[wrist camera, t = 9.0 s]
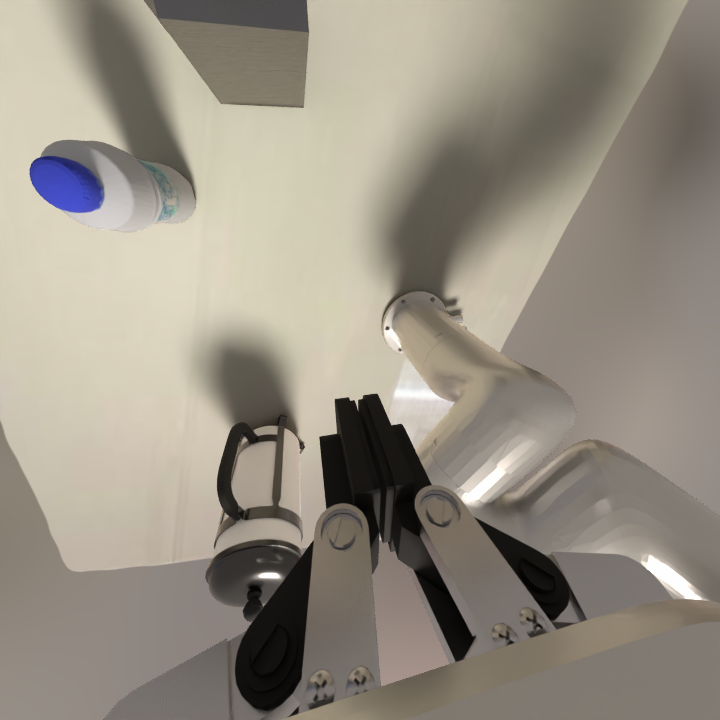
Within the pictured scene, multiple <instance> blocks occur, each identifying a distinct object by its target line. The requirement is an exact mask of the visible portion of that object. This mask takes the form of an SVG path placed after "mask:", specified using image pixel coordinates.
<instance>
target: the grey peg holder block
mask: <svg viewBox="0 0 720 720" xmlns="http://www.w3.org/2000/svg"><path fill="white" fill-rule="evenodd" d="M144 1H145V2H146V4H147V5H148V6H149V8H150V9H151V10H152V12H153V13H154V15H155V16H156V17H157V19H158V20H159V21H160V23H161V24H162V25H163V27H164V28H165V29H166V31H167V32H168V33H169V34H170V35H171V37H172V38H173V39H174V41H175V42H176V43H177V45H178V46H179V48H180V49H181V50H182V52H183V53H184V54H185V56H186V57H187V58H188V60H189V61H190V62H191V64H192V65H193V66H194V68H195V69H196V71H197V72H198V73H199V75H200V76H201V77H202V79H203V80H204V81H205V83H206V84H207V85H208V87H209V88H210V90H211V91H212V92H213V94H214V95H215V96H216V98H217V99H218V100H219V102H220V103H221V104H236V105H256V106H277V107H298V108H304V94H305V80H306V66H307V51H308V37H309V28H308V14H307V0H144Z"/></svg>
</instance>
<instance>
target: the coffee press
mask: <svg viewBox="0 0 720 720" xmlns="http://www.w3.org/2000/svg"><path fill="white" fill-rule="evenodd" d="M286 420H287V416H283V415H280V416H279V419H278V422H277V425H276V426H264V427H260V428H257V429H255V430H252V429H251V428H250V426H249V425H247V424H246V423H243V422H242V423H239V424H236V425H234V426H233V427H232V428H231V430H230V433H229V436H228V439H227V442H226V445H225V449H224V452H223V456H222V459H221V463H220V467H219V471H218V477H217V492H218V497H219V501H220V504H221V506H222V508H223V510H222V514H221V518H220V523H219V527H218V531H217V535H216V539H215V544H214V549H215V551H214V555H213V558H212V560H211V561H210V563H209V564H208V567H207V571H206V581H207V583H208V584H209V590H210V592H211V594H212V596H213V597H214V598H215V599H216V600H217V601H219V602H221V603H223V604H225V605H228V606H233V607H244V609H243V614H244V618H245V619H246V620H247V621H249V622H252V621H254V619H255V618H256V617H257V615H258V614H259V613H260V611H261V610H262V609H263V606H262V604H266V603H267V602H268V601H269V599H270V598H271V597H272V595H273V594H274V593H275V591H276V590H277V589H278V587H279V586H280V585H281V583H282V582H283V580H284V579H285V578H286V576H287V575H288V574H289V572H290V571H291V570H292V568H293V567H294V566H295V564H296V563H297V562H298V560H299V559H300V558H301V556H302V555H303V552H302V550H301V541H302V537H303V535H302V521H301V500H300V454H301V453H302V451H303V450H304V448H305V446H304V445H303V444H299V441H298V439H297V437H296V436H295V435H294V434H293V433H292V432H291V431H289V430H288V429H286V428H285V424H286ZM241 437H242V438H243V440H242V441H241V440H240V438H241ZM240 442H241V443H240ZM300 449H301V451H300Z"/></svg>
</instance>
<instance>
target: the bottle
mask: <svg viewBox="0 0 720 720" xmlns="http://www.w3.org/2000/svg"><path fill="white" fill-rule="evenodd" d="M30 178H31V181H32V184H33V186H34V187H35V189H36V191H37V192H38V193H39V194H40V196H42V197H43V198H44V199H45V200H46V201H48V202H49V203H50V204H52V205H54V206H55V207H57V208H59V209H61V210H62V211H63V212H64V213H66V214H67V215H68V216H69V217H71V218H72V219H74V220H76V221H77V222H79V223H81V224H83V225H86V226H88V227H91V228H95V229H100V230H110V231H117V232H124V233H130V232H136V231H139V230H143V229H146V228H148V227H150V226H151V225H153V224H161V223H164V224H176V223H181V222H184V221H186V220H188V219H189V217H190V216H191V215H192V213H193V211H194V210H195V208H196V201H195V198H194V194H193V190H192V186H191V185H190V183H189V182H188V181H187V180H186V179H185V178H184V177H183V176H182V175H181V174H180V173H178V172H177V171H176V170H174V169H173V168H171V167H169V166H166V165H163V164H159V163H154V162H147V161H143V160H140V159H137V158H134V157H133V156H131V155H130V154H128V153H127V152H125V151H123V150H121V149H118V148H116V147H114V146H111V145H109V144H106V143H102V142H98V141H78V140H61V141H57V142H54V143H52V144H50V145H49V146H47V147H46V148H45V150H44V151H43V152H42V154H41V157H40V158H37V159H36V160H34V161H33V163H32V164H31V167H30Z"/></svg>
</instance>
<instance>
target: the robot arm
mask: <svg viewBox="0 0 720 720" xmlns="http://www.w3.org/2000/svg"><path fill="white" fill-rule="evenodd" d="M402 300H403V301H402ZM401 301H402V302H401ZM462 321H463V317H462V315H458V316H451V315H449V314H448V313H447V312H446V309H445V306H444V304H443V303H442V301H441V300H440V299H439V298H437V297H436V296H435V295H433V294H431V293H429V292H425V291H413V292H409V293H406V294H404V295H402V296H400V297H399V298H398V299H396V300H395V301H394V302H393V303H392V304H391V305H390V307H389V308H388V309H387V311H386V313H385V315H384V318H383V322H382V334H383V337H384V339H385V341H386V343H387V344H388V346H389V347H390V348H391V349H392V350H394V351H395V352H397V353H400V354H403V355H406V356H407V358H408V359H409V361H410V362H411V363H412V365H413V366H414V367H415V369H416V370H417V371H418V373H419V374H420V376H421V377H422V378H423V380H424V381H425V382H426V384H427V385H428V386H429V388H430V389H431V390H432V391H433V392H434V393H435V394H436V395H438V396H439V397H441V398H443V399H445V400H448V401H452V402H455V404H454V405H453V406H452V407H451V408H450V409H449V411H448V412H447V414H446V415H445V416H444V417H443V418H442V419H441V420H440V421H439V423H438V424H437V425H436V426H435V427H434V428H433V429H432V430H431V432H430V433H429V434H428V435H427V436H426V438H425V439H424V440H423V441H422V442H421V444H420V445H419V447H418V448H417V450H416V451H415V449H414V447H413V445H412V443H411V441H410V439H409V436H408V434H407V432H406V430H405V428H404V427H403V425H402V424H397V425H391V424H390V421H389V419H388V417H387V414H386V412H385V410H384V407H383V405H382V403H381V400H380V398H379V396H378V394H370V395H364V396H363V399H361V400H358V409H357V406H356V403H355V400H353V401H350V399H349V397H348V398H340V399H335V411H336V424H337V434H333V435H327V436H321V437H319V438H320V449H321V459H322V469H323V479H324V489H325V499H326V510H325V511H324V512H323V513H322V514H321V516H320V517H319V519H318V521H317V523H316V527H315V533H314V540H313V542H312V543H311V544H310V546H309V547H308V548H307V550H306V551H305V553H304V554H303V555H302V556H301V558H300V559H299V560H298V562H297V563H296V564H295V566H294V567H293V568H292V570H291V571H290V572H289V574H288V575H287V576H286V578H285V579H284V580H283V582H282V583H281V585H280V586H279V587H278V589H277V590H276V591H275V593H274V594H273V595H272V597H271V598H270V599H269V601H268V602H267V603H266V605H265V606H264V607H263V609H262V610H261V611H260V613H259V614H258V615H257V617H256V618H255V619H254V621H253V622H252V623H251V625H250V626H249V628H248V629H247V631H245V632H244V633H242V634H240V635H238V636H237V637H235V638H233V639H231V640H229V641H228V639H225V640H223V641H221V642H219V643H218V644H216V645H214V646H212V647H210V648H209V649H207V650H205V651H203V652H201V653H200V654H198V655H196V656H194V657H193V658H191V659H189V660H187V661H185V662H184V663H182V664H180V665H178V666H176V667H175V668H173V669H171V670H169V671H167V672H166V673H164V674H162V675H160V676H158V677H157V678H155V679H153V680H151V681H149V682H148V683H146V684H144V685H142V686H140V687H139V688H137V689H135V690H133V691H132V692H131V693H129V694H128V695H127V696H125V697H124V698H123V699H121V700H120V701H119V702H118V703H117V704H116V705H115V706H114V707H113V708H112V710H111V711H110V712H109V713H108V714H107V716H106V717H105V718H104V719H103V720H720V515H718V514H717V513H716V512H714V511H713V510H711V509H710V508H708V507H707V506H706V505H704V504H703V503H701V502H700V501H698V500H697V499H695V498H694V497H693V496H691V495H690V494H688V493H687V492H686V491H684V490H683V489H681V488H680V487H678V486H677V485H675V484H674V483H672V482H671V481H670V480H668V479H667V478H665V477H664V476H662V475H661V474H659V473H658V472H657V471H655V470H653V469H652V468H651V467H649V466H648V465H646V464H645V463H643V462H642V461H640V460H639V459H637V458H635V457H634V456H632V455H631V454H629V453H627V452H625V451H624V450H622V449H620V448H619V447H617V446H614V445H612V444H610V443H607V442H604V441H600V440H589V439H588V440H583V441H580V442H578V443H576V444H574V445H572V446H570V447H569V448H567V449H566V450H564V451H563V452H562V453H560V454H559V455H558V456H556V457H555V458H554V459H553V460H552V461H550V462H549V463H548V464H547V465H546V466H544V467H543V468H542V469H541V470H540V471H539V472H537V473H536V474H535V475H534V476H533V477H532V478H531V479H529V480H528V481H527V482H526V483H525V484H523V485H522V486H521V487H520V488H519V489H518V490H516V491H514V492H510V491H508V490H509V489H510V488H512V487H513V486H514V485H515V484H516V483H517V482H518V481H519V480H521V479H522V478H523V477H525V476H526V475H527V474H528V473H529V472H531V471H532V470H533V469H534V468H535V467H536V466H537V465H539V464H540V463H541V462H542V461H543V460H544V459H545V458H547V457H548V456H549V455H550V454H551V453H552V452H553V451H555V450H556V449H557V447H558V446H559V445H560V444H561V443H562V442H563V441H564V440H565V438H566V437H567V436H568V435H569V433H570V431H571V430H572V428H573V425H574V423H575V420H576V407H575V404H574V402H573V399H572V398H571V396H570V395H569V394H568V393H567V391H566V390H565V389H564V388H563V387H561V386H560V385H559V384H557V383H556V382H555V381H553V380H552V379H550V378H548V377H547V376H545V375H543V374H541V373H539V372H537V371H535V370H533V369H531V368H529V367H527V366H524V365H523V364H520V363H518V362H516V361H514V360H512V359H510V358H508V357H506V356H505V355H503V354H501V353H499V352H498V351H496V350H495V349H493V348H492V347H490V346H489V345H487V344H486V343H484V342H483V341H482V340H480V339H479V338H477V337H476V336H475V335H473V334H472V333H471V332H469V331H468V330H467V328H466V326H461V325H459V324H458V323H462ZM386 326H387V327H386ZM385 327H386V328H385ZM379 532H380V536H381V539H382V542H383V543H385V542H388V544H389V547H390V551H391V552H393V551H396V554H397V557H398V559H399V560H400V561H402V562H403V563H405V564H406V565H407V567H408V571H409V573H410V575H411V578H412V580H413V582H414V584H415V586H416V589H417V591H418V594H419V596H420V598H421V600H422V603H423V604H424V607H425V609H426V612H427V614H428V616H429V618H430V621H431V623H432V625H433V627H434V630H435V632H436V634H437V636H438V638H439V641H440V643H441V645H442V647H443V650H444V652H445V654H446V657H447V659H448V661H449V663H450V664H449V665H446V666H443V667H440V668H437V669H434V670H430V671H427V672H424V673H421V674H419V675H415V676H412V677H409V678H406V679H403V680H400V681H397V682H394V683H391V684H388V685H385V686H382V687H381V682H380V669H379V658H378V657H379V656H378V644H377V631H376V618H375V606H374V593H373V579H372V575H373V572H374V570H375V569H376V567H377V565H378V553H379Z"/></svg>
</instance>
